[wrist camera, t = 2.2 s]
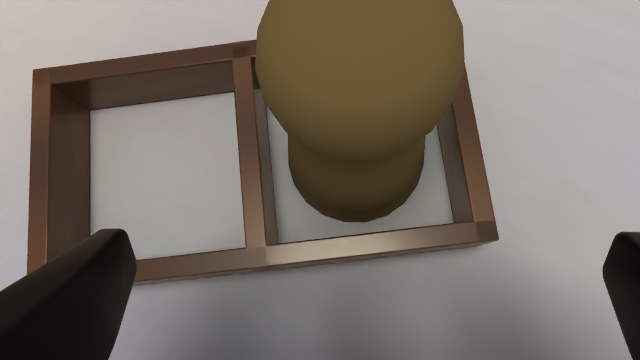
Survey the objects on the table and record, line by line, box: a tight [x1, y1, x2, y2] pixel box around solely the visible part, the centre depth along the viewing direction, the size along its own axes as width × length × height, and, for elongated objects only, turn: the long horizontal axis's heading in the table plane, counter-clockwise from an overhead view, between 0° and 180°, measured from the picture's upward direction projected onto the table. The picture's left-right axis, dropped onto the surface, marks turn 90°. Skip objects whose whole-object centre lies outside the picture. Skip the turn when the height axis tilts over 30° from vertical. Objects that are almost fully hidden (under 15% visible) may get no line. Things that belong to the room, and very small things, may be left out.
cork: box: [255, 0, 464, 222], centre depth 15 cm, size 6×6×11 cm
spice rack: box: [27, 40, 499, 286], centre depth 20 cm, size 9×18×3 cm, turn 96°
